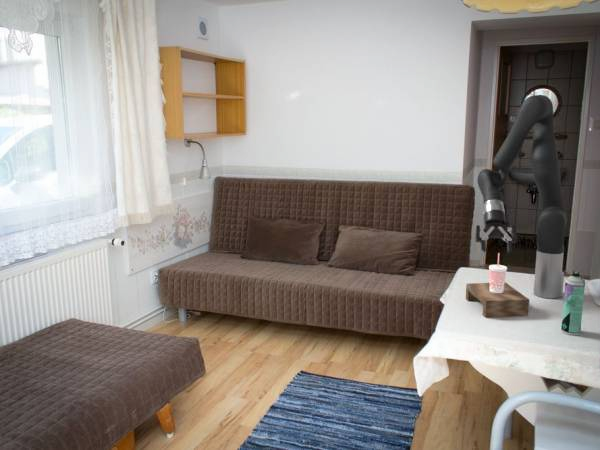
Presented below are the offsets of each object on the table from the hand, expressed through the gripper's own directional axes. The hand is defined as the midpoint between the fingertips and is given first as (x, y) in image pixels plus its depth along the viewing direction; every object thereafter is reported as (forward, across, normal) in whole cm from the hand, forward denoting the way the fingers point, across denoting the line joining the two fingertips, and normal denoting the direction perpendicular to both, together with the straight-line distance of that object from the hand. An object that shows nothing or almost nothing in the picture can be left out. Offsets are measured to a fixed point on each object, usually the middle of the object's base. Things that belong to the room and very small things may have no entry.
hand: (497, 251), depth 199 cm
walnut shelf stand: (+17, 0, +10) cm, 20 cm away
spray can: (+31, +20, -3) cm, 37 cm away
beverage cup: (+13, 0, +6) cm, 14 cm away
